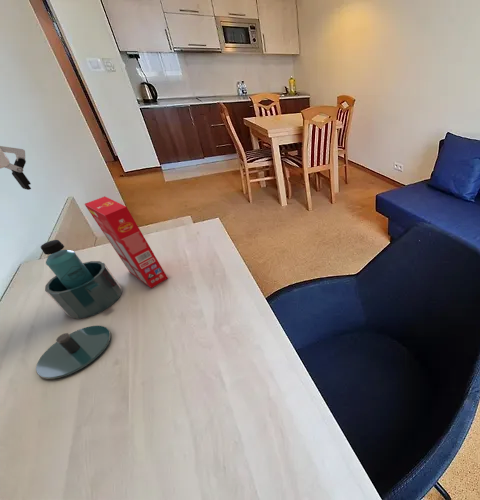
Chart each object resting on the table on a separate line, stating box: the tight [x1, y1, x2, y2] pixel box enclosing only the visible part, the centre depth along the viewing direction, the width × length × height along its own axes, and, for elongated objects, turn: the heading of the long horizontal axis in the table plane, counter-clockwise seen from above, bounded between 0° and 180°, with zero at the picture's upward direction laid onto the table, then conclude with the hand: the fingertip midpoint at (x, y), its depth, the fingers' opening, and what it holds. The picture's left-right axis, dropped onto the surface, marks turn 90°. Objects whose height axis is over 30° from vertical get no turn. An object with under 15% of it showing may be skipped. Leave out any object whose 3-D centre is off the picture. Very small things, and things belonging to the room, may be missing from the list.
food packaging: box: [84, 195, 169, 289], centre depth 89 cm, size 15×5×25 cm, turn 54°
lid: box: [35, 325, 112, 380], centre depth 71 cm, size 15×15×6 cm
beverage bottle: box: [40, 239, 94, 290], centre depth 82 cm, size 6×7×20 cm
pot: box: [44, 260, 123, 320], centre depth 86 cm, size 14×19×10 cm
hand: (1, 197), depth 69 cm, fingers open, 9 cm apart
